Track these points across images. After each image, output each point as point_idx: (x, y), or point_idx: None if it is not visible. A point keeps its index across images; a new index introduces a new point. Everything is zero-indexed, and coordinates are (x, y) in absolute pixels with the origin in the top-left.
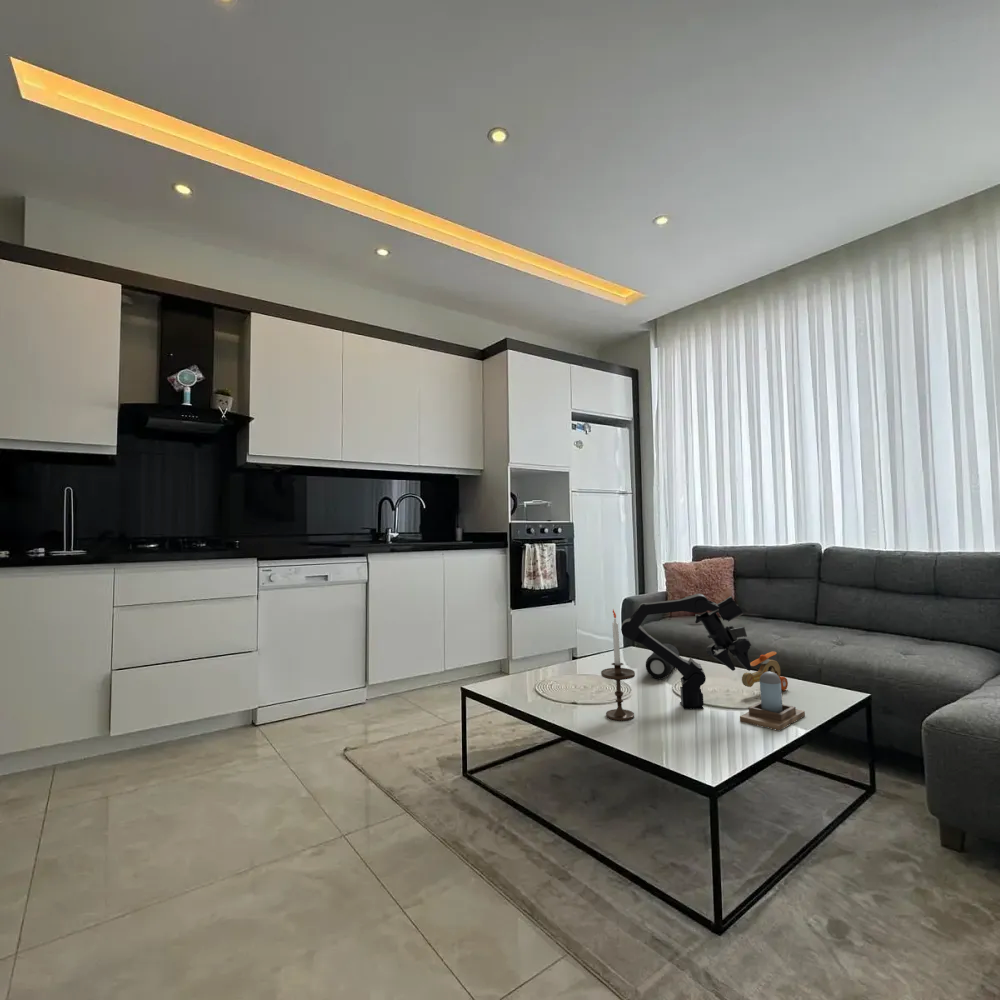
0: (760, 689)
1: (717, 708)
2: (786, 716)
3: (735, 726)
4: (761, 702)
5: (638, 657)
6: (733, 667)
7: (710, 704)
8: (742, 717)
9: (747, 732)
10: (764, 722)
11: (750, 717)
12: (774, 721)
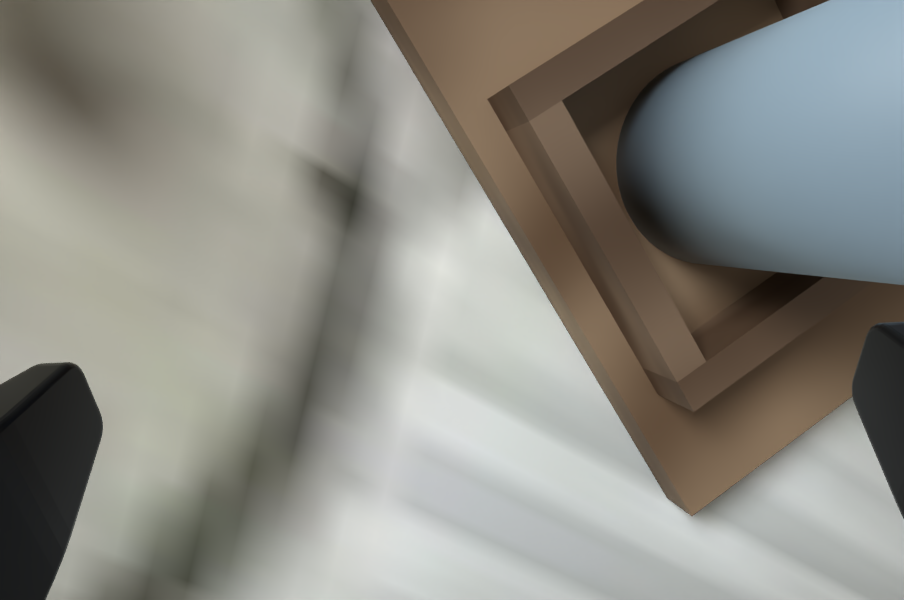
0: (874, 278)
1: (275, 554)
2: None
3: (760, 590)
4: (754, 268)
5: None
6: (51, 431)
7: (118, 576)
8: (709, 497)
9: (888, 554)
10: None
11: (745, 433)
12: None
